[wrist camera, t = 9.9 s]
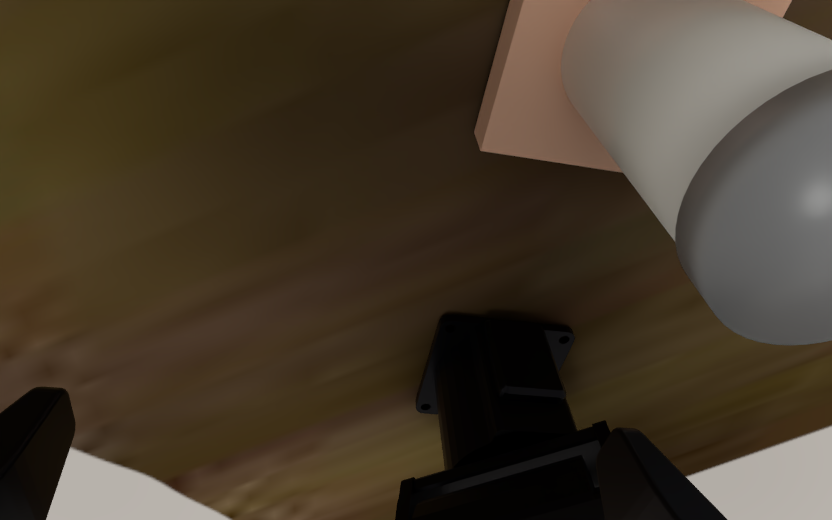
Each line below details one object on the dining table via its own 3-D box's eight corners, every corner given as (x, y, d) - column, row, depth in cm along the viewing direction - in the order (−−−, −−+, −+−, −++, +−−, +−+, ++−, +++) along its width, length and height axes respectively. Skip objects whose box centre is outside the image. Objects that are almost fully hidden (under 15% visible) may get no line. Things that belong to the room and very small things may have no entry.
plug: (675, 143, 20) (885, 355, 12) (532, 119, 19) (654, 332, 11) (756, -20, 17) (1115, 118, 9) (591, -57, 16) (821, 57, 8)
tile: (674, 164, 22) (692, 183, 21) (474, 132, 21) (480, 150, 19) (795, -72, 17) (826, -65, 16) (546, -133, 16) (560, -130, 15)
